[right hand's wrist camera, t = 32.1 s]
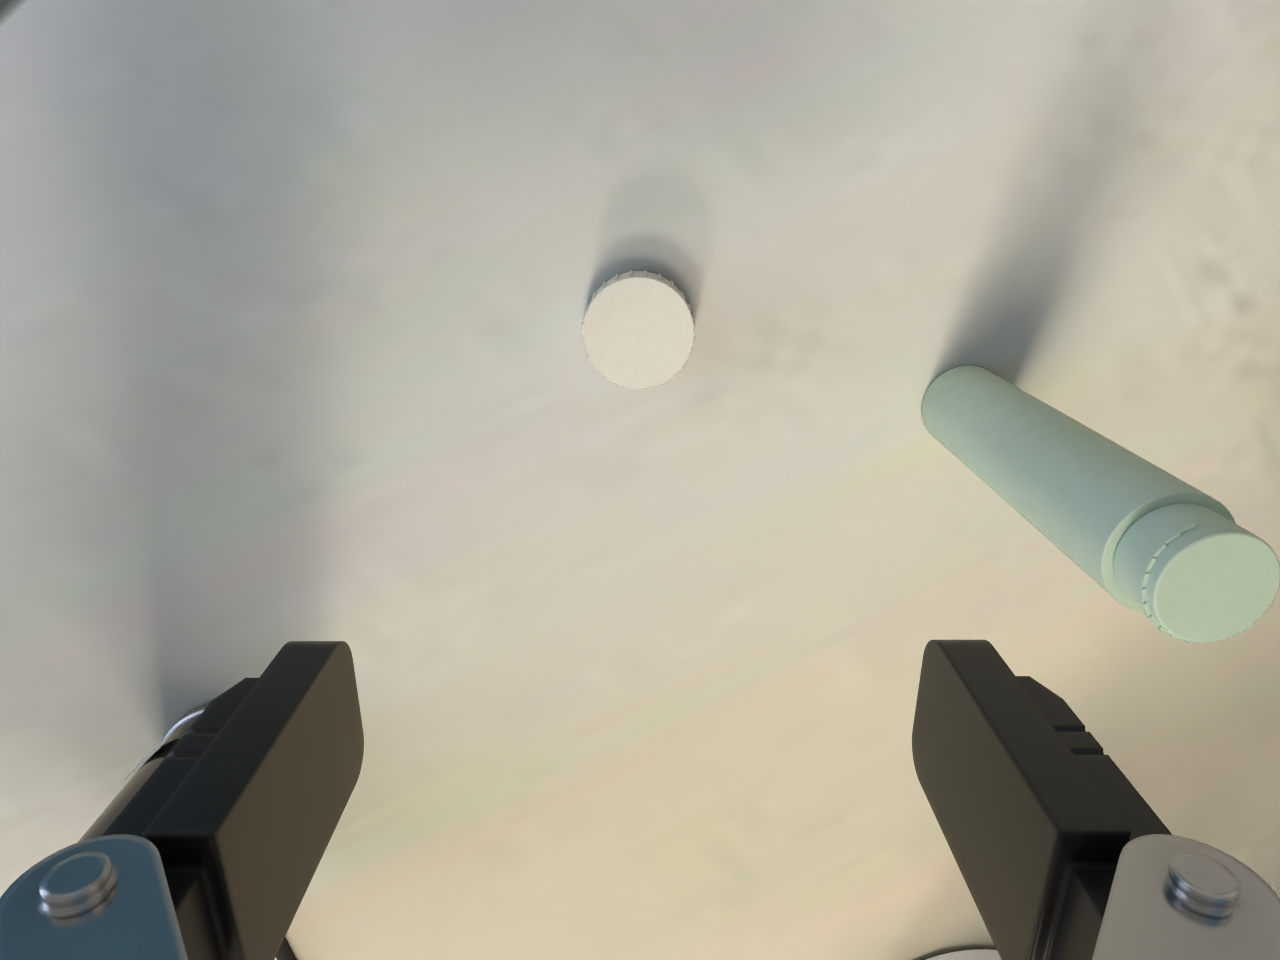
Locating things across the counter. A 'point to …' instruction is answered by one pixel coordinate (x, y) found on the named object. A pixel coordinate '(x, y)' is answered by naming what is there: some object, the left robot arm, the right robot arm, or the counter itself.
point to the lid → (638, 330)
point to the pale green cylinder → (1107, 508)
